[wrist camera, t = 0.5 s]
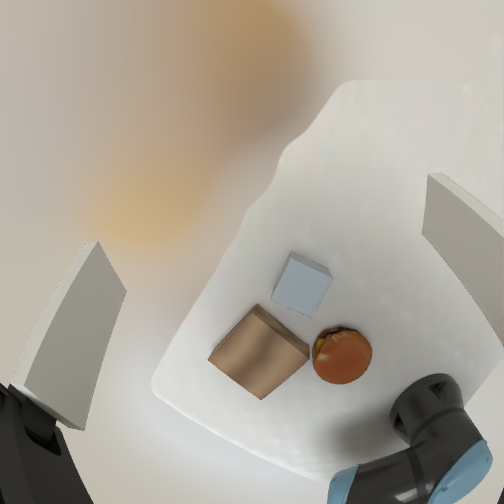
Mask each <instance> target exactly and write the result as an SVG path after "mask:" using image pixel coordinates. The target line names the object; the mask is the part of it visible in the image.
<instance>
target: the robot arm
mask: <svg viewBox="0 0 504 504" xmlns="http://www.w3.org/2000/svg"><path fill="white" fill-rule="evenodd" d="M422 234H423V235H424V237H425V238H426V239H427V240H428V241H429V242H430V244H431V245H432V246H433V247H434V248H435V250H436V251H437V252H438V253H439V254H440V256H441V257H442V258H443V259H444V261H445V262H446V263H447V264H448V266H449V267H450V268H451V269H452V271H453V272H454V273H455V275H456V276H457V277H458V278H459V280H460V281H461V283H462V284H463V285H464V287H465V288H466V289H467V291H468V292H469V293H470V295H471V296H472V298H473V299H474V301H475V302H476V303H477V305H478V306H479V308H480V309H481V311H482V312H483V314H484V315H485V317H486V318H487V320H488V322H489V323H490V325H491V326H492V328H493V330H494V331H495V333H496V334H497V336H498V338H499V339H500V341H501V343H502V345H503V346H504V220H502V219H501V218H500V217H499V216H498V215H497V214H496V213H494V212H493V211H492V210H491V209H490V208H488V207H487V206H486V205H485V204H484V203H482V202H481V201H480V200H479V199H477V198H476V197H475V196H473V195H472V194H471V193H470V192H468V191H467V190H466V189H464V188H463V187H462V186H460V185H459V184H458V183H456V182H455V181H453V180H452V179H451V178H449V177H448V176H446V175H445V174H443V173H434V174H428V180H427V193H426V204H425V213H424V221H423V229H422ZM126 292H127V291H126V289H125V288H124V286H123V284H122V283H121V281H120V279H119V278H118V276H117V274H116V272H115V271H114V269H113V267H112V265H111V263H110V262H109V260H108V258H107V256H106V254H105V253H104V251H103V249H102V247H101V246H100V243H99V241H96V242H92V243H88V244H85V245H84V246H83V247H82V249H81V250H80V252H79V253H78V255H77V257H76V258H75V259H74V261H73V262H72V264H71V265H70V267H69V269H68V270H67V272H66V273H65V275H64V277H63V278H62V280H61V281H60V283H59V285H58V287H57V288H56V290H55V292H54V293H53V295H52V297H51V298H50V300H49V302H48V304H47V306H46V307H45V309H44V311H43V313H42V315H41V317H40V319H39V320H38V322H37V325H36V326H35V328H34V330H33V332H32V334H31V336H30V338H29V340H28V342H27V345H26V347H25V349H24V351H23V353H22V355H21V358H20V360H19V362H18V365H17V367H16V369H15V372H14V374H13V376H12V379H11V381H10V385H9V387H8V389H7V388H6V387H4V386H3V385H2V384H1V383H0V504H94V503H93V501H92V500H91V498H90V496H89V494H88V492H87V490H86V488H85V486H84V484H83V482H82V480H81V478H80V476H79V473H78V471H77V469H76V467H75V464H74V462H73V460H72V458H71V455H70V453H69V450H68V448H67V445H66V442H65V440H64V437H63V434H62V432H61V430H60V428H58V427H57V426H56V421H57V420H58V421H59V422H61V423H62V424H64V425H65V426H67V427H68V428H72V429H78V430H83V431H84V430H85V426H86V421H87V417H88V413H89V408H90V404H91V401H92V397H93V393H94V389H95V386H96V382H97V378H98V375H99V372H100V368H101V365H102V361H103V358H104V355H105V352H106V349H107V345H108V343H109V339H110V337H111V334H112V330H113V327H114V325H115V322H116V319H117V316H118V313H119V310H120V308H121V305H122V302H123V300H124V297H125V294H126ZM390 420H391V423H392V426H393V429H394V431H395V432H396V434H397V435H399V436H400V437H401V438H402V439H403V440H404V441H405V442H406V443H407V444H408V445H409V446H410V448H407V449H405V450H402V451H399V452H397V453H394V454H391V455H389V456H386V457H383V458H380V459H377V460H375V461H372V462H368V463H365V464H362V465H361V464H358V465H357V466H355V467H352V468H349V469H345V470H342V471H340V472H338V473H336V474H335V475H334V476H333V478H332V480H331V482H330V486H329V491H328V500H327V504H453V503H455V502H457V501H458V500H460V499H461V498H463V497H464V496H466V495H467V494H468V493H469V492H470V491H472V490H473V489H474V488H475V487H476V486H477V485H478V484H479V483H480V482H481V481H482V480H483V478H484V477H485V476H486V474H487V473H488V471H489V469H490V467H491V465H492V460H493V458H492V454H491V452H490V450H489V448H488V446H487V442H486V440H484V438H483V437H482V436H481V434H480V433H479V431H478V429H477V428H476V427H475V425H474V423H473V422H472V420H471V419H470V418H469V416H468V415H467V413H466V412H465V410H464V406H463V401H462V395H461V390H460V388H459V386H458V384H457V383H456V382H455V380H454V379H453V378H452V377H450V376H448V375H445V374H435V375H431V376H428V377H425V378H423V379H421V380H419V381H417V382H415V383H414V384H412V385H411V386H410V387H408V388H407V389H406V390H405V391H404V392H403V393H402V394H401V395H400V396H399V398H398V399H397V400H396V402H395V404H394V405H393V408H392V410H391V415H390ZM497 504H504V488H503V491H502V493H501V496H500V498H499V501H498V503H497Z"/></svg>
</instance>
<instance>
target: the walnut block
mask: <svg viewBox="0 0 504 504" xmlns="http://www.w3.org/2000/svg"><path fill="white" fill-rule="evenodd" d="M309 359H310V356H309V346H308V345H307V344H305V343H304V342H303V341H302V340H300V339H299V338H298V337H297V336H295V335H294V334H293V333H292V332H291V331H289V330H288V329H287V328H286V327H284V326H283V325H282V324H281V323H280V322H278V321H277V320H276V319H275V318H273V317H272V316H271V315H270V314H269V313H267V312H266V311H265V310H264V309H263V308H261V307H260V306H259V305H258V304H256V305H255V306H254V307H253V308H252V309H251V310H250V311H249V312H248V313H247V314H246V316H245V317H244V318H243V319H242V320H241V321H240V322H239V323H238V324H237V325H236V326H235V327H234V328H233V329H232V330H231V331H230V333H229V334H228V335H227V336H226V337H225V338H224V339H223V340H222V341H221V342H220V343H219V344H218V345H217V346H216V347H215V348H214V350H213V352H212V353H211V355H210V357H209V358H208V361H210V362H211V363H212V364H213V365H215V366H216V367H217V368H218V369H220V370H221V371H222V372H224V373H225V374H226V375H227V376H229V377H230V378H231V379H233V380H234V381H235V382H237V383H238V384H239V385H241V386H242V387H243V388H245V389H246V390H248V391H249V392H250V393H252V394H253V395H254V396H256V397H257V398H259V399H260V400H262V399H263V398H265V397H266V396H267V395H268V394H270V393H271V392H272V391H273V390H274V389H276V388H277V387H278V386H279V385H281V384H282V383H283V382H284V381H285V380H286V379H288V378H289V377H290V376H291V375H292V374H293V373H295V372H296V371H297V370H298V369H299V368H300V367H301V366H303V365H304V364H305V363H306V362H307V361H308V360H309Z"/></svg>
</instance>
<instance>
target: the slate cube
mask: <svg viewBox="0 0 504 504" xmlns="http://www.w3.org/2000/svg"><path fill="white" fill-rule="evenodd" d="M332 279H333V278H332V276H331V274H330V272H329V270H328V268H326V267H323V266H321V265H319V264H317V263H315V262H313V261H311V260H309V259H307V258H305V257H302V256H300V255H298V254H296V253H294V252H292V251H291V253H290V255H289V257H288V260H287V262H286V264H285V266H284V268H283V270H282V272H281V274H280V276H279V278H278V280H277V282H276V284H275V286H274V289H273V293H272V296H271V300H273V301H275V302H277V303H279V304H281V305H284V306H286V307H288V308H290V309H292V310H294V311H297V312H299V313H301V314H303V315H305V316H308V317H310V318H312V316H313V315H314V313H315V311H316V309H317V307H318V306H319V304H320V302H321V300H322V298H323V296H324V294H325V292H326V291H327V289H328V287H329V285H330V283H331V281H332Z"/></svg>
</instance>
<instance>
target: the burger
mask: <svg viewBox="0 0 504 504" xmlns="http://www.w3.org/2000/svg"><path fill="white" fill-rule="evenodd" d="M312 358H313V367H314V369H315V371H316V373H317V374H318V375H319V376H320V377H321V378H322V379H323V380H325V381H327V382H330V383H333V384H346V383H350V382H352V381H354V380H356V379H358V378H359V377H360V376H362V375H363V373H364V372H365V371H366V370H367V367H368V366H369V364H370V361H371V358H372V348H371V345H370V343H369V342H368V341H367V339H366V338H365V337H363V336H362V335H361V334H360V333H359V332H358V331H357V330H352V329H348V328H343V327H338V328H337V329H332V330H326V331H324V332H323V333H322V335H320V336H319V338H318V340H317V341H316V342H315V343H314V346H313V348H312Z"/></svg>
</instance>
